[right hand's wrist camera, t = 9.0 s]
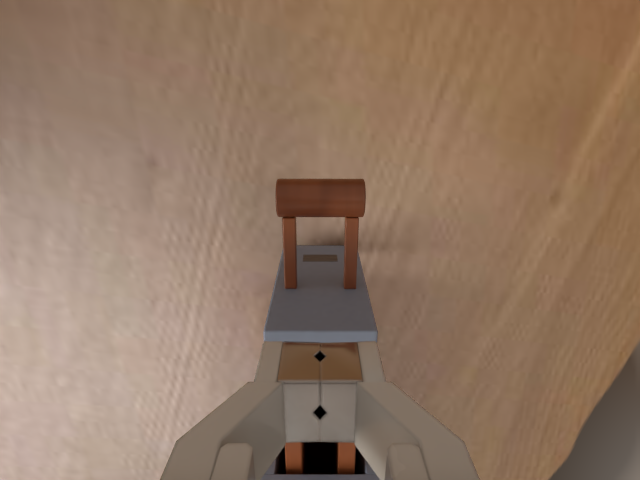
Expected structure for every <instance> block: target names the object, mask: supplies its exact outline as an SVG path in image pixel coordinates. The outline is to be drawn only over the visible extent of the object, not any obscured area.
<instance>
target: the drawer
mask: <svg viewBox="0 0 640 480" xmlns="http://www.w3.org/2000/svg"><path fill="white" fill-rule="evenodd" d="M365 199H366V193H365V182H364V179H277V183H276V211H277V215H278V217H283V218H282V226H283V251H282V256H281V260H280V264H279V268H278V273H277V277H276V281H275V285H274V289H273V294H272V298H271V302H270V306H269V311H268V315H267V319H266V323H265V328H264V342H265V341H282V342H284V341H291V342H320V343H326V342H361V341H375V342H376V343H377V335H378V331H377V327H376V323H375V319H374V315H373V311H372V307H371V303H370V299H369V295H368V291H367V287H366V283H365V279H364V275H363V270H362V266H361V262H360V258H359V254H358V227H359V218H358V217H363V216H364V212H365ZM296 217H345V237H344V246H297V242H296ZM355 452H356V446H355V443H345V442H294V443H286V445H285V461H286V474H355Z"/></svg>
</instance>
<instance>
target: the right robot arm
mask: <svg viewBox="0 0 640 480" xmlns="http://www.w3.org/2000/svg"><path fill="white" fill-rule="evenodd" d="M294 442H345V443H355V446H356V447H357V449H358V450H359V451H360V453H361V454H362V456H363V457H364V458H365V460H366V461H367V463H368V464H369V465H370V467H371V468H372V469H373V471H374V472H375V474H376V475H377V476H378V478H379V479H380V480H480V479H479V477H478V474H477V472H476V469H475V467H474V465H473V462H472V460H471V457H470V455H469V453H468V450H467V448H466V445H465V443H464V441H463V440H461V439H460V438H459V437H458V436H456V435H455V434H454V433H453V432H452V431H450V430H449V429H448V428H447V427H446V426H444V425H443V424H442V423H441V422H440V421H438V420H437V419H436V418H435V417H433V416H432V415H431V414H430V413H429V412H427V411H426V410H425V409H424V408H423V407H421V406H420V405H419V404H418V403H416V402H415V401H414V400H413V399H412V398H410V397H409V396H408V395H407V394H406V393H404V392H403V391H402V390H401V389H400V388H398V387H397V386H396V385H395V384H393V383H392V382H386V379H385V375H384V371H383V367H382V362H381V358H380V354H379V350H378V345H377V343H376V342H375V341H361V342H326V343H320V342H291V341H284V342H282V341H265V342H264V343H263V345H262V349H261V354H260V358H259V362H258V366H257V371H256V375H255V379H254V382H248V383H247V384H245V385H244V386H243V387H242V388H240V389H239V390H238V391H237V392H236V393H234V394H233V395H232V396H231V397H229V398H228V399H227V400H226V401H225V402H223V403H222V404H221V405H220V406H219V407H217V408H216V409H215V410H214V411H212V412H211V413H210V414H209V415H208V416H206V417H205V418H204V419H203V420H202V421H200V422H199V423H198V424H197V425H195V426H194V427H193V428H192V429H191V430H189V431H188V432H187V433H186V434H184V435H183V436H182V437H181V438H180V439H178V440H177V441H176V443H175V446H174V448H173V450H172V453H171V455H170V458H169V460H168V462H167V465H166V467H165V469H164V472H163V474H162V477H161V479H160V480H260V479H261V478H262V477H263V475H264V474H265V473H266V471H267V470H268V468H269V467H270V466H271V464H272V463H273V461H274V460H275V459H276V457H277V456H278V455H279V453H280V452H281V450H282V449H283V448H284V446H285V445H286V443H294Z"/></svg>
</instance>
